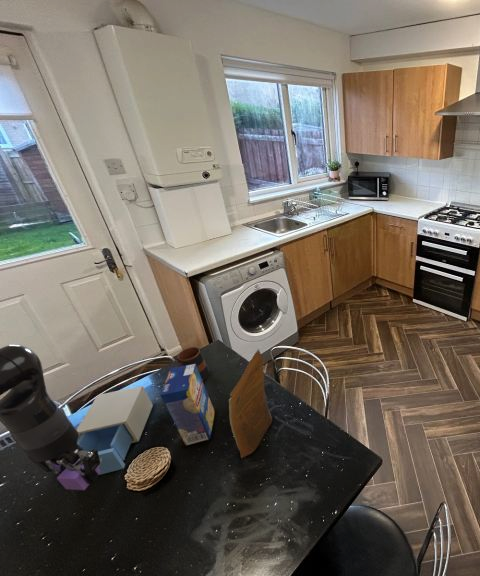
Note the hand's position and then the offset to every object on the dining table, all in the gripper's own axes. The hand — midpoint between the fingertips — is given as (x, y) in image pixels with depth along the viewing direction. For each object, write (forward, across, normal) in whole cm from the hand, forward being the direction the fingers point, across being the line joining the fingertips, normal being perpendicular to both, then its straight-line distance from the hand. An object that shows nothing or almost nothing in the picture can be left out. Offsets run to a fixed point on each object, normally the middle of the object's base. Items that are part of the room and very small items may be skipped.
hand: (83, 479), depth 72 cm
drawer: (+14, +11, -13) cm, 22 cm away
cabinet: (+15, +16, -24) cm, 32 cm away
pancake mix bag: (+14, -30, -24) cm, 41 cm away
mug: (+15, +5, -46) cm, 48 cm away
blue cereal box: (+15, -10, -25) cm, 31 cm away
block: (0, 0, 0) cm, 0 cm away
